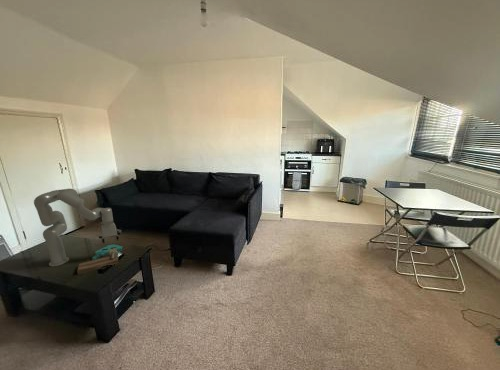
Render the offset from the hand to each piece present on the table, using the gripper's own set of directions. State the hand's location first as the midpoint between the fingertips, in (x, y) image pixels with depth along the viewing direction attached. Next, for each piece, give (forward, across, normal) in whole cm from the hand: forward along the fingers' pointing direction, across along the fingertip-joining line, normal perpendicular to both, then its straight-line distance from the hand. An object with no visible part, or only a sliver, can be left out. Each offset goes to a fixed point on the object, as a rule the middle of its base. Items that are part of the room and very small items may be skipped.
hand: (110, 241), depth 180 cm
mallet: (+15, +1, -5) cm, 15 cm away
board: (+15, -9, -9) cm, 19 cm away
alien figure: (+15, -3, +13) cm, 20 cm away
